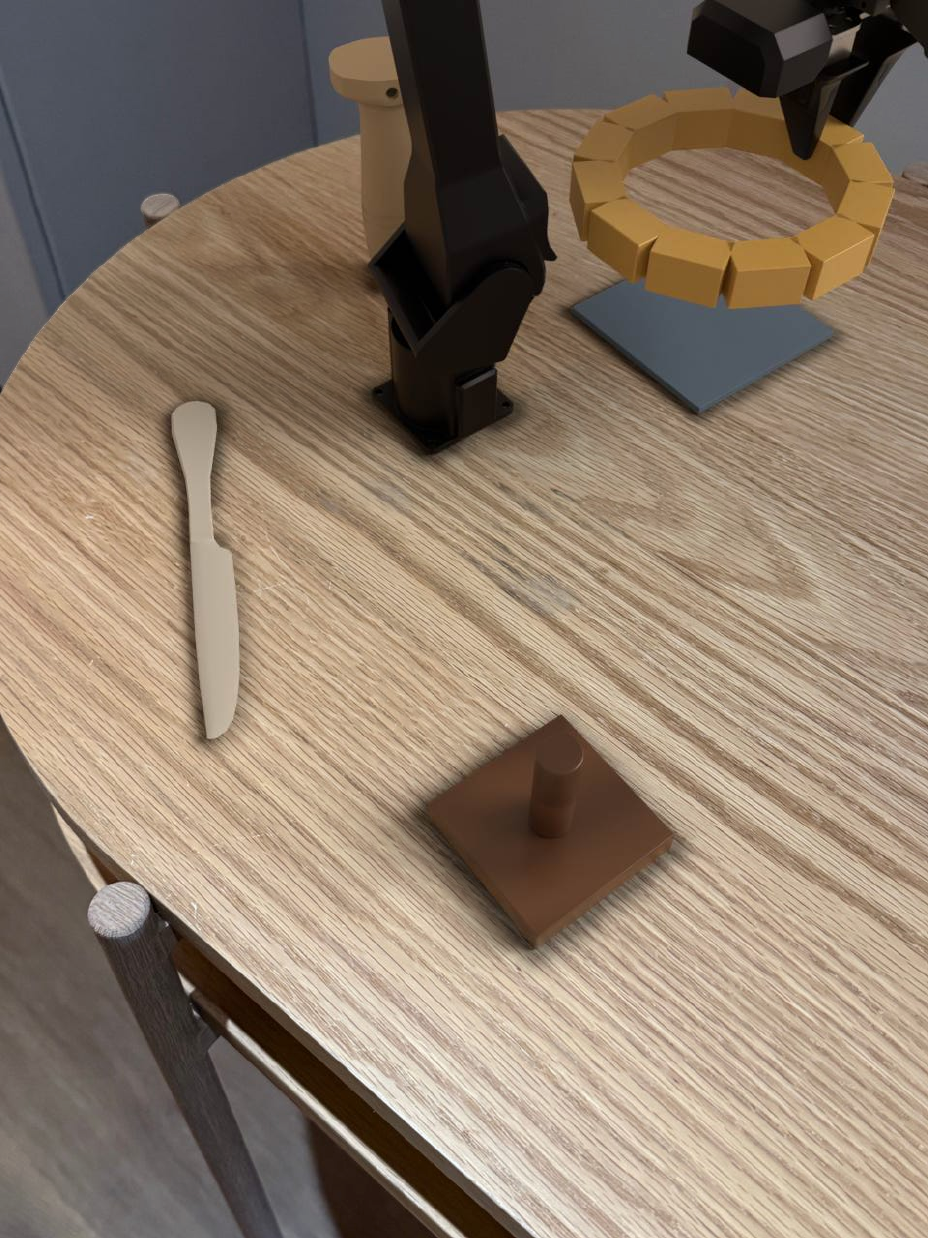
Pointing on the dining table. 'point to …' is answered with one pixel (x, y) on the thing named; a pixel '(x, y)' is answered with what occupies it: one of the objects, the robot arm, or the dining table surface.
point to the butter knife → (208, 571)
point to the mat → (699, 339)
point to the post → (549, 829)
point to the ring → (712, 263)
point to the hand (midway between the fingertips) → (817, 148)
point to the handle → (376, 132)
